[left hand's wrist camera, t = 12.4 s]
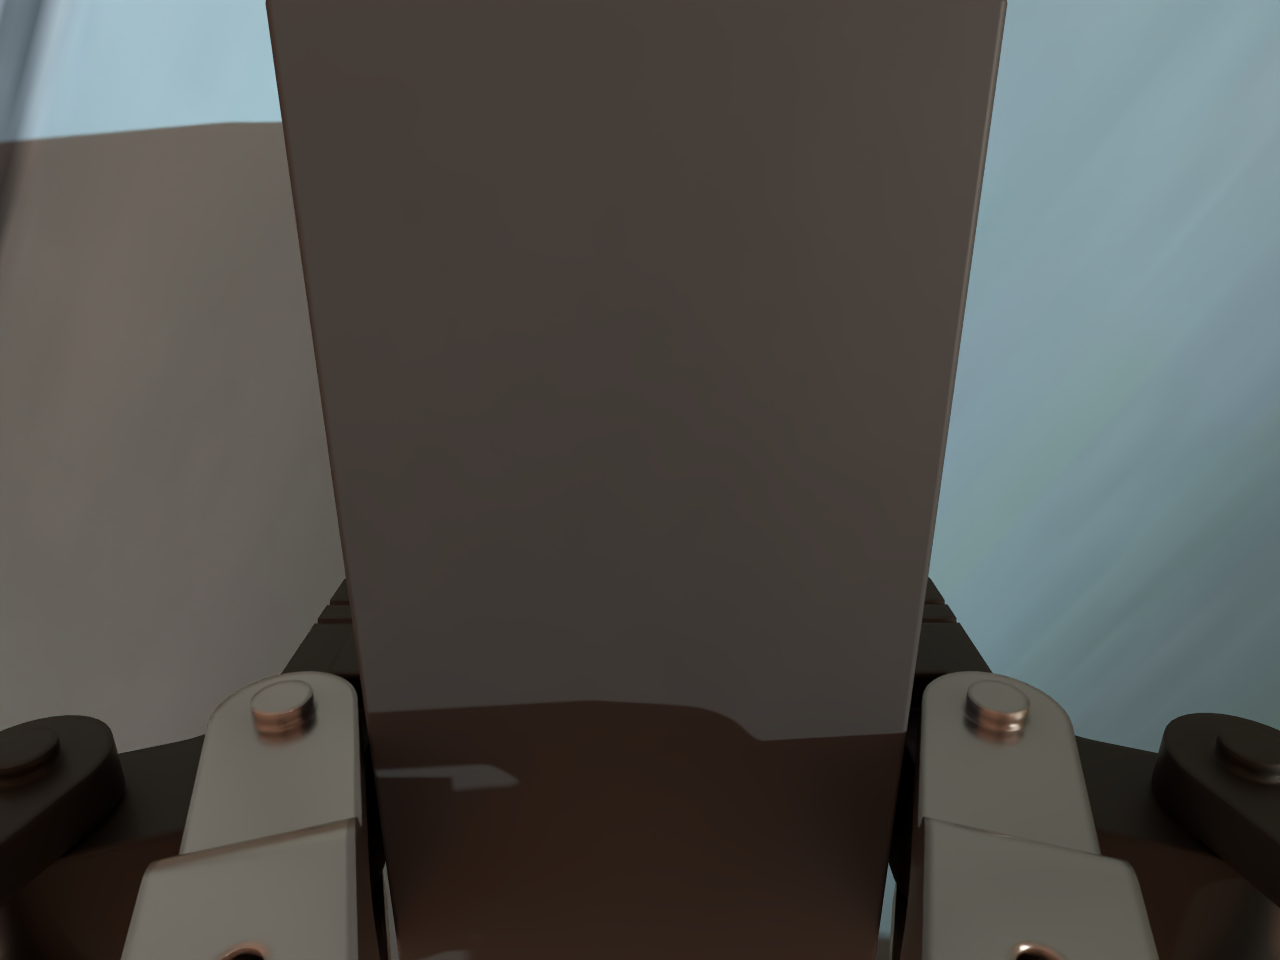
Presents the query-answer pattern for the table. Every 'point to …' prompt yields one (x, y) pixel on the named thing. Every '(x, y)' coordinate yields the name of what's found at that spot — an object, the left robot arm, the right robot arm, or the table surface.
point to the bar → (636, 444)
